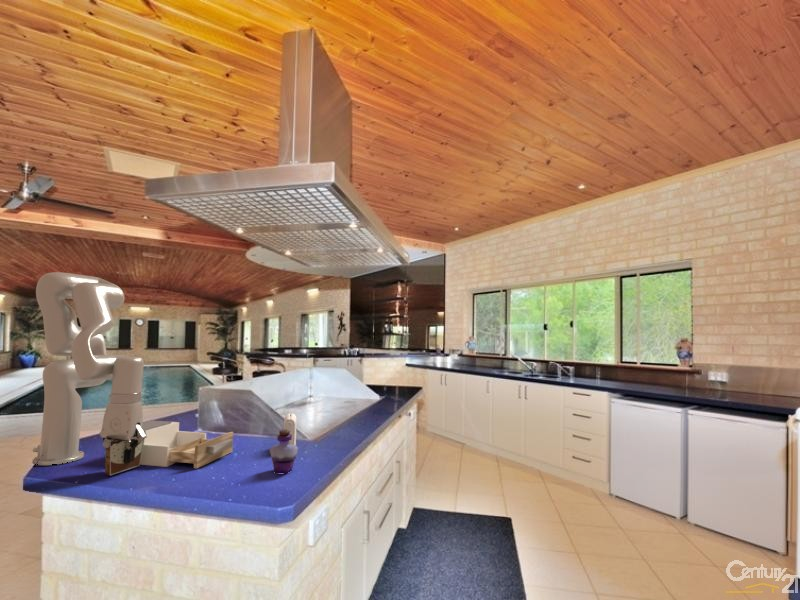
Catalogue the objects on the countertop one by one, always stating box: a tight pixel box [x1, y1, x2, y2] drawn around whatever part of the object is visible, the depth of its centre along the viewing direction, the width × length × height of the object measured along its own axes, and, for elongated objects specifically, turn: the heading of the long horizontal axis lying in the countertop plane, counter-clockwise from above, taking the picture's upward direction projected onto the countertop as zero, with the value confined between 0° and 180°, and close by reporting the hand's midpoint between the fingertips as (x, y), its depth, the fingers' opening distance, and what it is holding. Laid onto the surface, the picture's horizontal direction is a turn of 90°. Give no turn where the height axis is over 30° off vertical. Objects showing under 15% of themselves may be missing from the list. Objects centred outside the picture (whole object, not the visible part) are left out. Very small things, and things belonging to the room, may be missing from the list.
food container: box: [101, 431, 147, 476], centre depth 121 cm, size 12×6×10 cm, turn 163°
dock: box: [140, 420, 207, 468], centre depth 137 cm, size 22×18×10 cm
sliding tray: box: [169, 431, 234, 469], centre depth 134 cm, size 14×18×7 cm
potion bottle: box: [269, 429, 299, 473], centre depth 124 cm, size 9×9×12 cm
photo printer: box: [283, 413, 298, 446], centre depth 148 cm, size 10×4×12 cm, turn 11°
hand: (120, 460), depth 121 cm, fingers closed on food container, 5 cm apart
